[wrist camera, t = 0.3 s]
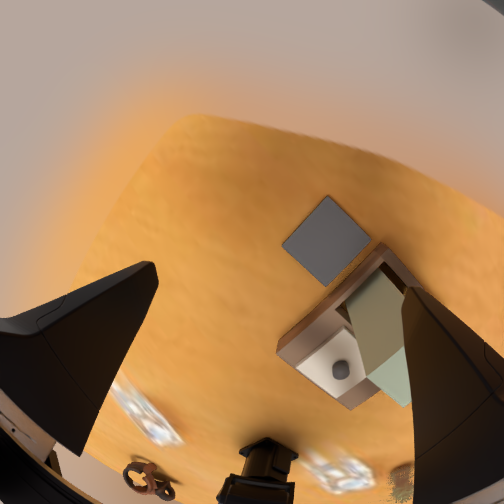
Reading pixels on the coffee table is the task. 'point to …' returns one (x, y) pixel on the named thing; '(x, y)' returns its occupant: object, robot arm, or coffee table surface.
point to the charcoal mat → (326, 241)
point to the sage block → (381, 334)
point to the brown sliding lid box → (338, 337)
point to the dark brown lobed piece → (148, 481)
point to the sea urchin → (402, 485)
